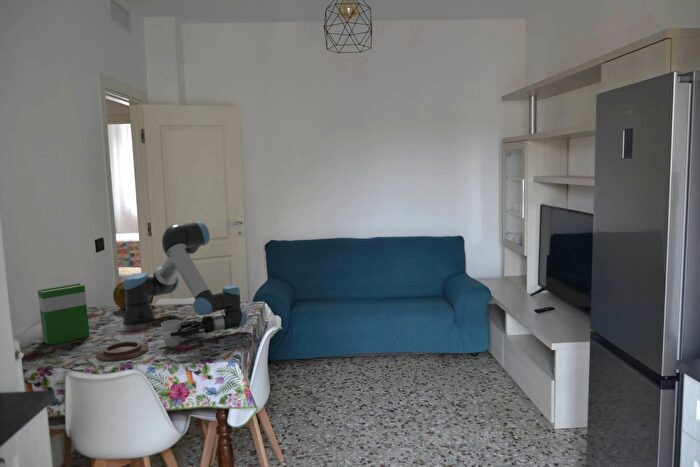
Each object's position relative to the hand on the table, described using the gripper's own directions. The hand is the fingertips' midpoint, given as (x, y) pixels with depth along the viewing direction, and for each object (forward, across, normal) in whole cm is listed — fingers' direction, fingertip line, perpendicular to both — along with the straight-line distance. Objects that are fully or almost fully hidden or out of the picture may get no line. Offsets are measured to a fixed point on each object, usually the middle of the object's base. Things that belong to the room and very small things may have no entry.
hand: (160, 333), depth 233 cm
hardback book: (+33, +41, -6) cm, 53 cm away
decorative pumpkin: (-3, +81, -6) cm, 81 cm away
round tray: (+15, +3, -6) cm, 16 cm away
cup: (-5, 0, -6) cm, 8 cm away
